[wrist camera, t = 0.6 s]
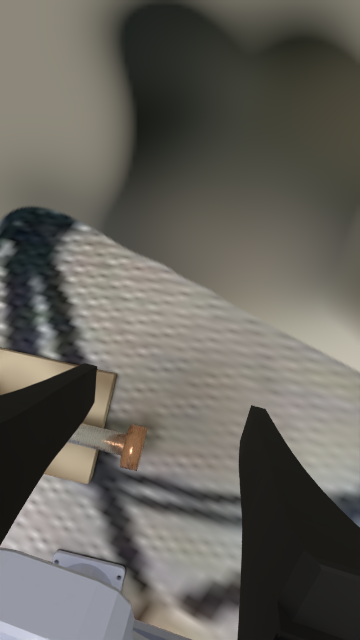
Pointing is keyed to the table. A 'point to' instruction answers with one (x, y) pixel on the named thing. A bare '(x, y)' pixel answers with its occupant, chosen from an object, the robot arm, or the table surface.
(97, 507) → the table surface
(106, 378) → the bearing board
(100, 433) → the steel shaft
